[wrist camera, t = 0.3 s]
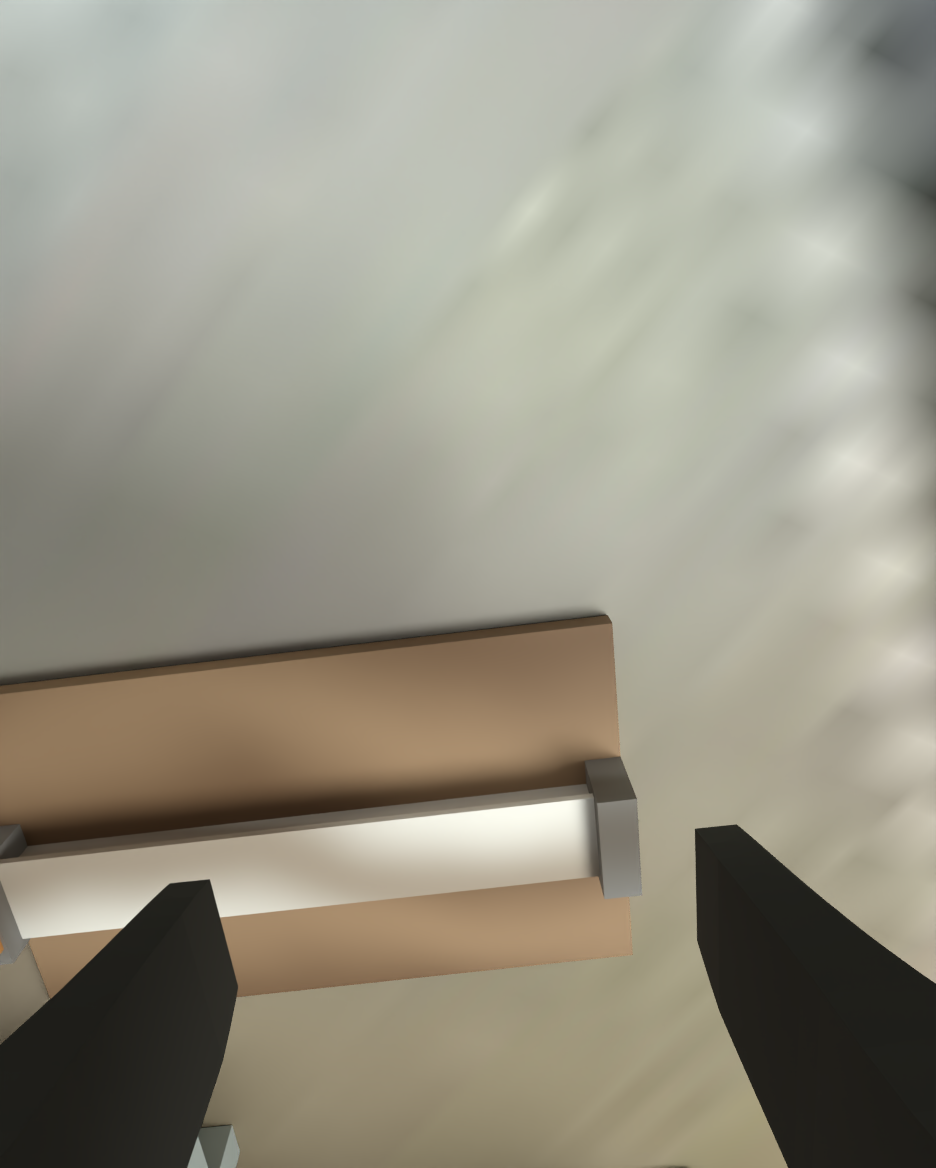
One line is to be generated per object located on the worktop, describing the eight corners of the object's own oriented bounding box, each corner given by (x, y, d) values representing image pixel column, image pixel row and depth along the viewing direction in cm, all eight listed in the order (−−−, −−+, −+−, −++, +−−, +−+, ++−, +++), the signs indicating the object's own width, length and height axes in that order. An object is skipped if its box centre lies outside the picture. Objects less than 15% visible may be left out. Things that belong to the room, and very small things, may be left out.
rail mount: (628, 940, 24) (651, 1019, 21) (65, 1000, 24) (16, 1085, 21) (607, 614, 20) (631, 659, 18) (-49, 691, 21) (-126, 746, 18)
